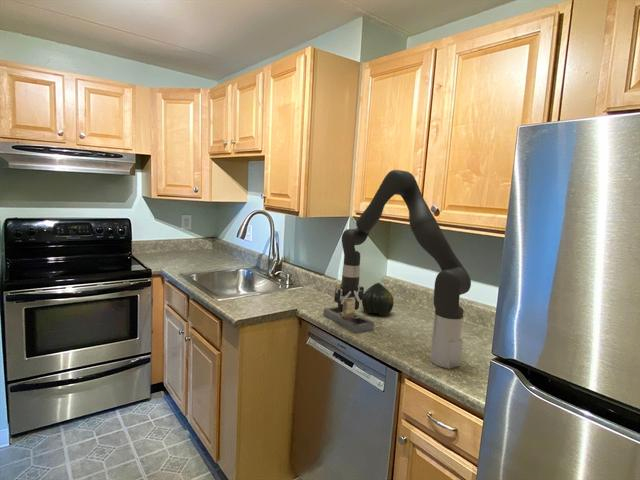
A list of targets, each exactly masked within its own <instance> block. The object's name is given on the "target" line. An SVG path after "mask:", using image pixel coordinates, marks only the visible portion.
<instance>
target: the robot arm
mask: <svg viewBox="0 0 640 480" xmlns="http://www.w3.org/2000/svg"><path fill="white" fill-rule="evenodd" d="M395 195H397V196H400V197H401V198H402V199H403V201H404V203H405V205H406V206H407V209H408V216H409V217H408V219H409V226H410V227H409V228H410V229H411V231H412V233H413V235H414V237H415V240H416V242H417V243H418V244H419V246H420V247H421V248H422V249H423V250H424V251H426V253H428V254H429V256H431V258H433V259H434V260H435V262H436V263H437V264H438V266H439V268H440V270H441V271H440V272H439V273H437V275H436V276H435V277H436V278H435V281H434V289H433V290H434V291H433V305H434V319H433V327H432V336H431V347H430V355H429V360H430V362H431V363H432V364H434V366H435V365H436V366H438V367H441V368H444V369H447V370H450V369H454V368H457V367H460V366H461V359H462V352H463V343H464V339H463V338H461V336H462V327H463V321H464V312H465V311H464V309H463V307H461V306H460V296H461V295H465V294H466V293H468V292H469V291H470V289H471V286H472V280H471V276H470V275H469V273H468V271H467V270H466V269H465V267H464V266H463V264H462V262H461V261H460V260H459V259H458V257H457V256H456V254H455V252H454V250H453V249H452V247H451V245H450V244H449V242H448V239H447V237H445V235H444V233H443V230H442V229H441V227H440V225H439V223H438V221H437V220H436V218H435V216H434V215H433V213H432V211H431V209H430V207H429V206H428V204H427V202H426V200H425V198H424V196H423V195H422V192H421V190H420V187H419V185H418V182H417V180H416V178H415V176H414V174H413V173H411V172H409V171H406V170H401V169H392V170H390V171H389V172H388V173H386V175H385V176H384V179H383V180H382V182H381V183H380V186H379V188H378V189H377V191H376V192H375V194H374V196H373V197H372V199H371V201H370V203H369V204H368V205H367V207H366V208H365V209H364V211H363V212H362V213H361V214H360V216H359V217H358V218H357V220H356V222H355V224H356V228H348V229H347V228H346V229H345V230H344V231H343V233H342V235H341V245H342V249H343V264H342V265H343V266H342V276H341V288H335V290H334V299H333V302H334V303H337V307H338V311H339V312H343V302H344V301H345V300H346V299H351V298H352V299H353V300H354V301H355V311H358V310H359V308H360V302H362V300H363V299H364V293H365V288H364V286H361V285H360V274H361V268H360V267H361V265H360V264H361V253H360V252H359V251H358V250H356V248H355V246H360V245H362V244H364V243H365V242H366V240H367V239H368V236H369V234H370V232H371V231H372V229H373V228H375V227H374V226H376V225H377V223H378V222H379V220H380V219H381V217H382V216H383V212H384V208H385V205H386V204H387V202H388V201H390V199H391V198H393V197H394V196H395Z"/></svg>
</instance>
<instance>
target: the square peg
mask: <svg viewBox="0 0 640 480" xmlns="http://www.w3.org/2000/svg"><path fill="white" fill-rule="evenodd" d="M355 311H356V310H355V299H353V298H352V299H351V298H347V299H346V300H345V301H344V302H343V312H342V313H341V316H342V317H344V318H346V319H347V318H353V317H354V313H355Z"/></svg>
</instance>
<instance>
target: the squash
mask: <svg viewBox="0 0 640 480" xmlns="http://www.w3.org/2000/svg"><path fill="white" fill-rule="evenodd" d="M394 304H395V301H394V296H393V294H392V293H391V292H390V291H389V290H388V288H387V287H385V286H384V285H382V283H380V282H376V283H374V284H373V285H371V286H370V287H368V288H367V289H366V290H364V299H363V300H361V305H362V309H363V310H364V311H365V312H366V313H368V314H374V313H375V314H378V315H379V316H380V317H381V316H385V315H387V314H390V313H391V311H392V309H393V307H394Z"/></svg>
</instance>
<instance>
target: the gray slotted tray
mask: <svg viewBox="0 0 640 480" xmlns="http://www.w3.org/2000/svg"><path fill="white" fill-rule="evenodd" d="M341 313H342V312H339V311H338V306H334V307H326V308H323V314H322V315H323V316H324V317H326V318H328V319H330V320H331V321H333V322H335V323H336V324H338V325H340V326H341V327H343V328H344V329H346V330H348V331H350V332H351V333H354V334H359V333H363V332H369V331H374V329H375V322H373V321H372V320H369V319H368V318H365V317H363V316H362V315H360V314H357V313H356V312H354V317H353V318H347V319H346V318H344V317H342V316H341Z"/></svg>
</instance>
